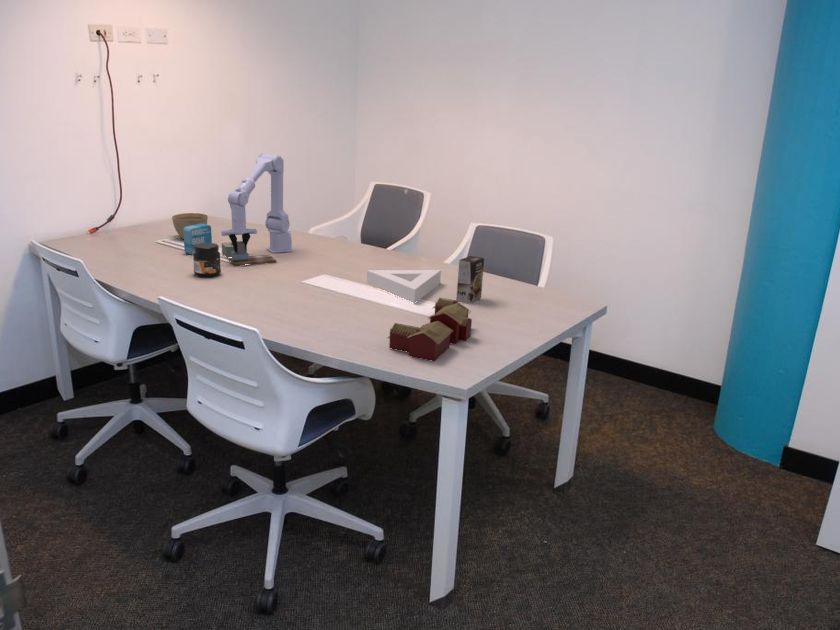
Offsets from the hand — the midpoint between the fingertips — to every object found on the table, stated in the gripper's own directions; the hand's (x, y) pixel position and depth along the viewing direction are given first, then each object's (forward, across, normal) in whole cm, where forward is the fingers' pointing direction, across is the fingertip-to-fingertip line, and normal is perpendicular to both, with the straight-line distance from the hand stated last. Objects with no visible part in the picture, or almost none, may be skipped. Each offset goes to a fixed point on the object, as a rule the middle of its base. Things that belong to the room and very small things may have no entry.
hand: (239, 251), depth 316 cm
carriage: (+4, 0, 0) cm, 4 cm away
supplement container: (+5, -17, -13) cm, 22 cm away
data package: (+5, -13, +23) cm, 27 cm away
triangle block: (+6, +47, -56) cm, 74 cm away
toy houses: (+6, +38, -106) cm, 113 cm away
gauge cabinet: (+5, +1, +13) cm, 14 cm away
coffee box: (+5, +67, -78) cm, 103 cm away
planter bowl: (+5, -11, +49) cm, 50 cm away
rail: (+5, +5, 0) cm, 7 cm away
